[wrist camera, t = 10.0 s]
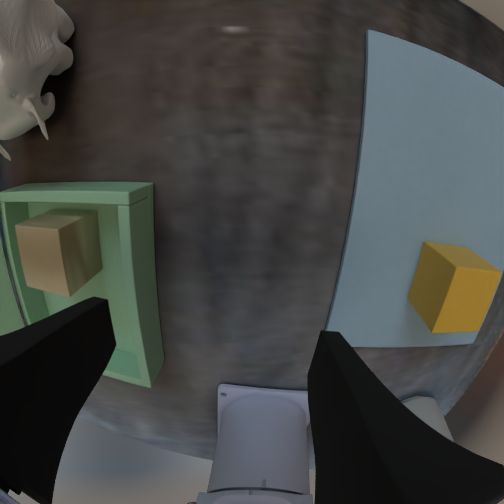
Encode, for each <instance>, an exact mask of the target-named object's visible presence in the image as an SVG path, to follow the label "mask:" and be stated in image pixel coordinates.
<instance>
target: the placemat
mask: <svg viewBox="0 0 504 504" xmlns="http://www.w3.org/2000/svg"><path fill="white" fill-rule="evenodd" d="M424 241H429V242H435V243H441V244H448V245H454V246H460V247H466V248H469V249H470V250H472V251H473V252H475V253H476V254H478V255H479V256H480V257H482V258H483V259H485V260H486V261H487V262H489V263H490V264H491V265H493V266H494V267H496V268H497V269H498V270H500V271H501V272H502V274H503V271H504V87H502V86H500V85H499V84H497V83H495V82H494V81H492V80H490V79H489V78H487V77H485V76H483V75H482V74H480V73H478V72H476V71H474V70H472V69H470V68H468V67H466V66H464V65H462V64H460V63H458V62H456V61H454V60H452V59H450V58H448V57H445V56H443V55H441V54H439V53H436V52H434V51H431V50H429V49H427V48H424V47H421V46H419V45H416V44H413V43H411V42H408V41H405V40H402V39H399V38H396V37H393V36H390V35H386V34H383V33H380V32H376V31H372V30H367V32H366V64H365V87H364V103H363V116H362V127H361V137H360V147H359V156H358V164H357V171H356V179H355V186H354V193H353V199H352V205H351V212H350V217H349V223H348V229H347V234H346V240H345V245H344V250H343V255H342V260H341V265H340V269H339V274H338V278H337V283H336V287H335V292H334V296H333V300H332V304H331V308H330V312H329V316H328V320H327V324H326V328H325V331H337V332H340V333H341V335H342V336H343V337H344V338H345V339H346V341H347V342H348V343H349V344H350V346H351V347H428V346H448V345H463V344H473V342H474V340H475V338H476V336H477V334H478V332H479V330H480V328H481V326H482V324H483V322H484V319H485V317H486V315H487V313H488V310H489V308H490V306H491V303H492V301H493V298H494V296H495V293H496V291H497V288H498V285H499V282H500V280H501V277H502V274H501V277H500V280H499V282H498V285H497V288H496V291H495V293H494V296H493V298H492V301H491V303H490V306H489V308H488V310H487V313H486V315H485V317H484V319H483V322H482V324H481V326H480V328H479V330H478V331H477V332H456V333H431V331H430V330H429V328H428V327H427V325H426V324H425V323H424V321H423V320H422V318H421V317H420V315H419V314H418V313H417V311H416V310H415V308H414V307H413V306H412V304H411V303H410V302H409V300H408V299H407V297H408V294H409V291H410V287H411V284H412V281H413V278H414V275H415V271H416V268H417V264H418V261H419V257H420V254H421V250H422V246H423V242H424Z"/></svg>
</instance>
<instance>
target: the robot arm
mask: <svg viewBox="0 0 504 504" xmlns="http://www.w3.org/2000/svg"><path fill="white" fill-rule="evenodd" d="M116 345H117V344H116V339H115V335H114V330H113V325H112V320H111V314H110V309H109V303H108V299H104V298H99V297H95V296H94V297H91V298H88V299H85V300H83V301H81V302H78V303H76V304H74V305H72V306H70V307H67V308H65V309H63V310H61V311H59V312H57V313H55V314H53V315H50V316H48V317H46V318H44V319H42V320H39V321H37V322H35V323H33V324H30V325H28V326H26V327H23V328H21V329H18V330H16V331H13V332H11V333H8V334H5V335H2V336H0V504H20V503H19V502H17V501H16V500H14V499H13V498H12V497H11V496H9V495H8V492H9V490H10V489H11V490H12V491H13V492H15V493H16V494H18V495H20V493H21V491H22V492H23V493H25V494H26V495H28V496H29V497H31V498H32V499H34V500H35V501H37V502H38V503H40V504H52V498H53V491H54V484H55V479H56V475H57V470H58V467H59V463H60V459H61V456H62V453H63V450H64V447H65V444H66V441H67V438H68V436H69V433H70V431H71V428H72V426H73V424H74V421H75V419H76V417H77V415H78V413H79V411H80V410H81V408H82V406H83V405H84V403H85V401H86V400H87V398H88V396H89V395H90V393H91V392H92V390H93V388H94V387H95V385H96V384H97V382H98V380H99V379H100V377H101V375H102V374H103V372H104V371H105V369H106V367H107V365H108V363H109V361H110V359H111V357H112V354H113V352H114V350H115V347H116ZM309 422H311V430H312V437H313V445H314V453H315V465H316V481H315V504H497V503H498V502H500V501H501V500H503V499H504V466H503V465H502V464H499V463H497V462H494V461H492V460H489V459H487V458H484V457H482V456H479V455H477V454H475V453H472V452H471V451H469V450H467V449H465V448H463V447H462V446H460V445H458V444H456V443H454V442H453V441H451V440H450V439H448V438H446V437H445V436H443V435H442V434H440V433H439V432H437V431H436V430H435V429H433V428H432V427H430V426H429V425H428V424H426V423H425V422H424V421H422V420H421V419H420V418H419V417H417V416H416V415H415V414H414V413H413V412H412V411H410V410H409V409H408V408H407V407H406V406H405V405H403V404H402V403H401V402H400V401H399V400H398V399H397V398H396V397H395V396H394V395H393V394H392V393H391V392H390V391H389V390H388V389H387V388H386V387H385V386H384V385H383V384H382V382H381V381H380V380H379V379H378V378H377V377H376V376H375V375H374V374H373V372H372V371H371V370H370V369H369V368H368V367H367V365H366V364H365V363H364V362H363V361H362V359H361V358H360V357H359V356H358V354H357V353H356V352H355V351H354V349H353V348H352V347H351V346H350V344H349V343H348V342H347V341H346V339H345V338H344V337H343V336H342V335H341V333H340V332H337V331H322V330H321V332H320V335H319V339H318V342H317V346H316V349H315V352H314V356H313V359H312V362H311V366H310V369H309V372H308V391H296V390H280V389H267V388H256V387H247V386H238V385H230V384H220V385H219V386H218V439H217V444H216V449H215V454H214V459H213V464H212V470H211V475H210V480H209V485H208V490H207V493H203V492H199V494H198V498H197V502H190V503H188V504H313V501H312V500H313V499H312V494H310V489H309V463H308V444H307V426H308V424H309Z"/></svg>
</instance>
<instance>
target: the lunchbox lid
mask: <svg viewBox="0 0 504 504" xmlns="http://www.w3.org/2000/svg"><path fill="white" fill-rule="evenodd" d="M23 327H25V326H24V323H23V320H22V317H21V314H20V311H19V308H18V305H17V302H16V299H15V295H14V292H13V288H12V285H11V281H10V277H9V273H8V269H7V265H6V260H5V255H4V251H3V245H2V240H1V234H0V336H2V335H5V334H8V333H11V332H13V331H16V330H18V329H21V328H23Z"/></svg>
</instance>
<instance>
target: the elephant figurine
mask: <svg viewBox="0 0 504 504" xmlns="http://www.w3.org/2000/svg"><path fill="white" fill-rule="evenodd" d="M74 29H75V28H74V25H73V22H72V20H71V19H70V18H69V16H68V15H67V14H66V13H65V12H64V10H63V9H62V8H61V7H59V6H58V5H56V4H55V2H54V0H0V139H1V140H8V139H12V138H15V137H18V136H20V135H22V134H24V133H25V132H27V131H28V130H30V129H31V128H33V127H35V126H36V125H38V124H39V126H40V128H41V131H42V133H43V134H44V136H45V137H46V139H47V140H48V135H47V130H46V126H45V122H44V121H45V120H47V119H48V118H49V117H50V116H51V115H52V114H53V112H54V109H55V98H54V95H53V93H51V92H48V93H46V94H45V95H43V96H41V97H40V93H41V89H42V86H43V84H44V82H45V80H46V78H47V77H48V75H49V74H50V75H59V74H61V73H62V72H63V71H65V70H66V69H68V68H69V67H70V66H71V65H72V63H73V53H72V50H71V49H70V48H69V47H68V46H66V45H64V43H65V42H66V41H67V40H68V39H69V38H70V37H71V35H72V34H73V32H74ZM0 153H1V154H2V155H3V156H4V157H5V158H7V159H8V160H10V161H11V159H10V157H9V154H8V153H7V152H6V151H5V150H4V148H3V147H2V146H1V145H0Z"/></svg>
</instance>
